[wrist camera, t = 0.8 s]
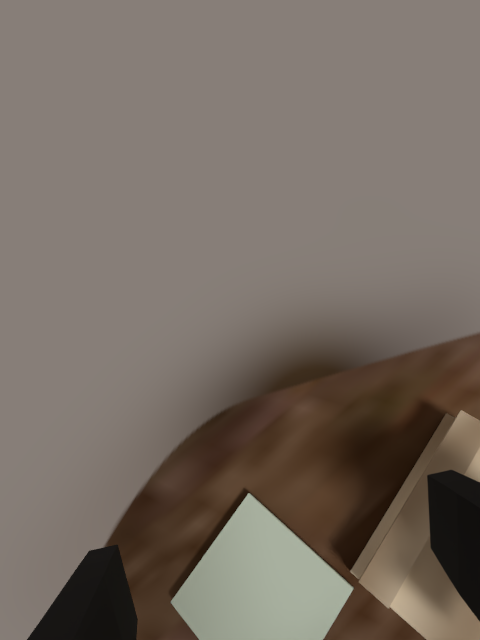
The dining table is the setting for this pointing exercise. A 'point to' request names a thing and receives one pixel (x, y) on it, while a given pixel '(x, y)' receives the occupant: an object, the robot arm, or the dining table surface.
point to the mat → (260, 583)
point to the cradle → (423, 541)
